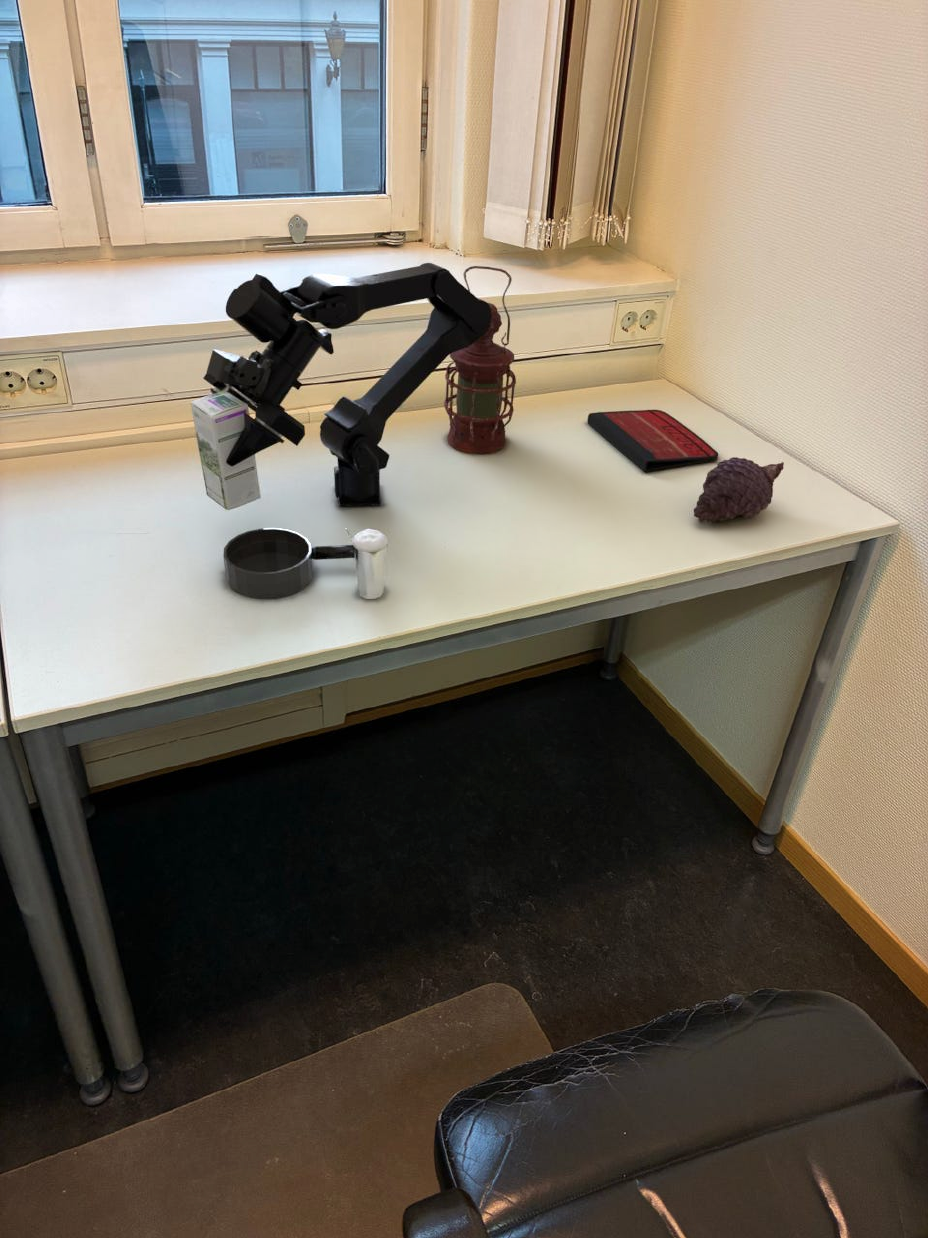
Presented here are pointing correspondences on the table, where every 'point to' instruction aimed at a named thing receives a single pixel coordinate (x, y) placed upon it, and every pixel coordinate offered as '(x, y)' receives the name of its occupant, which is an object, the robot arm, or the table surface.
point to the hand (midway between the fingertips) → (218, 455)
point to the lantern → (481, 389)
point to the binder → (652, 438)
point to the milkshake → (370, 562)
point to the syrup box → (224, 450)
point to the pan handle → (332, 552)
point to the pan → (268, 563)
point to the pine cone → (736, 490)
